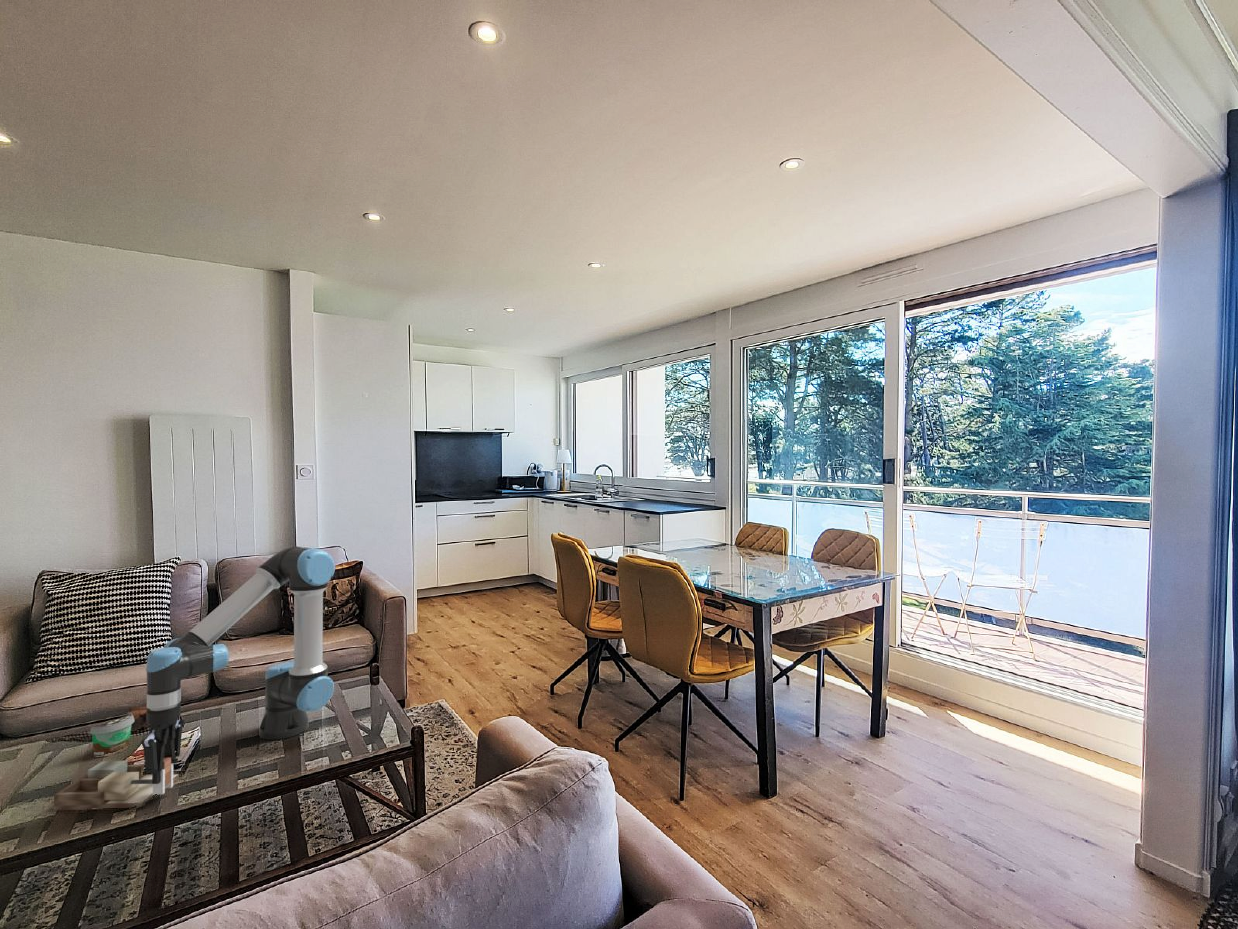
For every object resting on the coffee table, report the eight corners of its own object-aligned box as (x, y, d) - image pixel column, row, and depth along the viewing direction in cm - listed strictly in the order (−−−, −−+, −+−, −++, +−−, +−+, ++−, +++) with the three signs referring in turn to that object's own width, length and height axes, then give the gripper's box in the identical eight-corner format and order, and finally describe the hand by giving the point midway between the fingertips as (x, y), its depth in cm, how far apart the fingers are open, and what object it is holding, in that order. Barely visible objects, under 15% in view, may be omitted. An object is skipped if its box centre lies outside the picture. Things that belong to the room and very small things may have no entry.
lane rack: (179, 778, 174) (179, 757, 174) (139, 808, 158) (139, 785, 158) (101, 779, 173) (101, 758, 173) (53, 810, 157) (54, 787, 157)
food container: (104, 761, 183) (105, 729, 183) (89, 759, 184) (89, 727, 184) (144, 743, 195) (144, 713, 195) (129, 741, 196) (129, 711, 196)
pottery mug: (112, 734, 202) (119, 709, 206) (139, 736, 210) (145, 711, 214) (139, 729, 200) (146, 703, 204) (165, 731, 208) (171, 706, 212)
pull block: (173, 788, 165) (174, 755, 165) (161, 799, 160) (161, 764, 160) (112, 790, 164) (112, 756, 164) (97, 800, 159) (98, 765, 159)
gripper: (169, 695, 170) (169, 776, 170) (127, 718, 155) (126, 807, 155) (196, 694, 171) (195, 775, 171) (157, 717, 155) (156, 806, 155)
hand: (162, 790), depth 163 cm, fingers closed on pull block, 2 cm apart
